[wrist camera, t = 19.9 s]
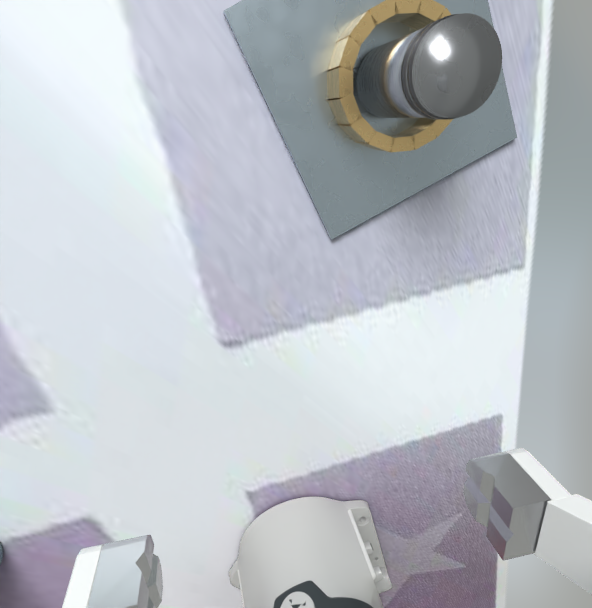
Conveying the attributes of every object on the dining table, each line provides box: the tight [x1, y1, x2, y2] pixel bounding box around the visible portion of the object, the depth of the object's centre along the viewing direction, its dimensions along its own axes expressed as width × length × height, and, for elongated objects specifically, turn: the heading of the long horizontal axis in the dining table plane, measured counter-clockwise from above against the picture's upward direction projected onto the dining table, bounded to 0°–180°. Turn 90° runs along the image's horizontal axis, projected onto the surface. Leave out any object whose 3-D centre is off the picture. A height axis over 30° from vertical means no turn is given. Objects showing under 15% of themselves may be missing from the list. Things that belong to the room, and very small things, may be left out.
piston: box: [357, 13, 502, 120], centre depth 28 cm, size 5×5×10 cm
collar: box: [224, 0, 517, 240], centre depth 31 cm, size 18×18×4 cm
